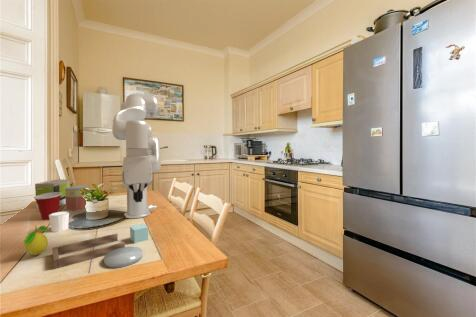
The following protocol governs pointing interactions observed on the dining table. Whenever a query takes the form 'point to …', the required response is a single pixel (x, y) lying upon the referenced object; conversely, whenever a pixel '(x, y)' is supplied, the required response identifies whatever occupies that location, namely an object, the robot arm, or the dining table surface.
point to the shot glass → (59, 221)
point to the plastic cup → (48, 203)
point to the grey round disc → (122, 257)
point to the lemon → (36, 241)
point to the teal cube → (139, 233)
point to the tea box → (53, 188)
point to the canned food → (74, 198)
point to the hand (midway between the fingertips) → (138, 201)
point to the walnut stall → (84, 255)
